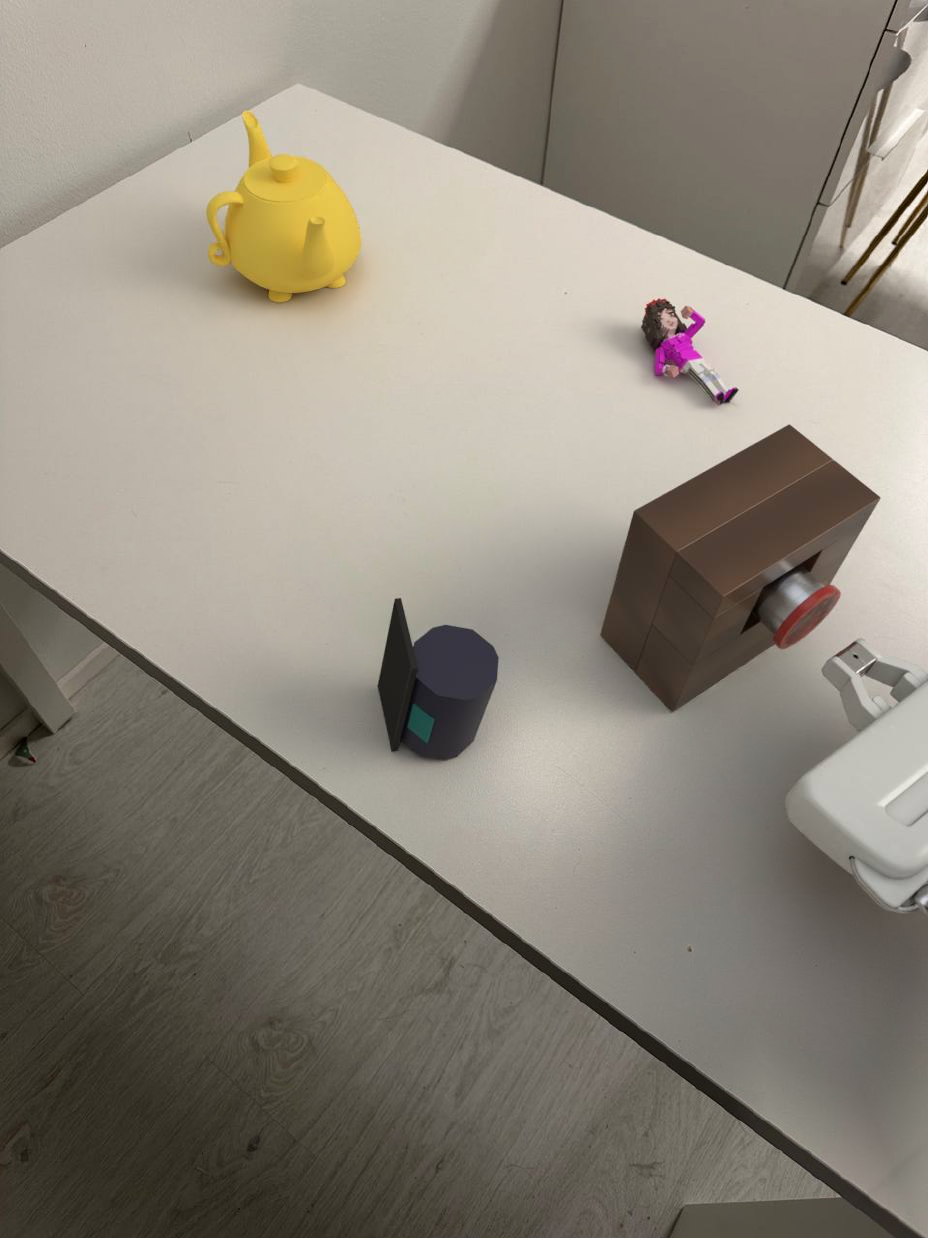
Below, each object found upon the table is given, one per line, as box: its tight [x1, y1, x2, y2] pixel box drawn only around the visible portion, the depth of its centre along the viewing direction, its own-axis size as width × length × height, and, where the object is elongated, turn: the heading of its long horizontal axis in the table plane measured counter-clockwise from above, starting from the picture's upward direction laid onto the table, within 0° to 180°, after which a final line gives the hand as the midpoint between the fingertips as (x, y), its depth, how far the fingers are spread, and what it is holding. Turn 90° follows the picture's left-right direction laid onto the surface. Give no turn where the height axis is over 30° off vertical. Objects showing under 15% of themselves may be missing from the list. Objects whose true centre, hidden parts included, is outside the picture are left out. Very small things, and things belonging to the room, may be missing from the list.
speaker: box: [377, 597, 500, 761], centre depth 61 cm, size 8×6×10 cm
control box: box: [599, 424, 882, 713], centre depth 65 cm, size 8×14×14 cm, turn 125°
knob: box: [751, 564, 842, 650], centre depth 61 cm, size 4×5×5 cm
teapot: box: [205, 110, 362, 303], centre depth 89 cm, size 20×15×12 cm
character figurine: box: [640, 297, 739, 406], centre depth 86 cm, size 6×5×12 cm
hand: (839, 653), depth 59 cm, fingers closed
